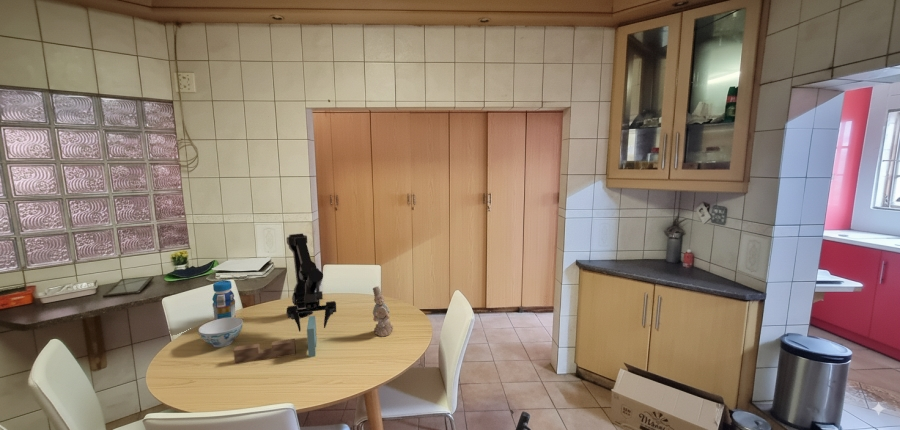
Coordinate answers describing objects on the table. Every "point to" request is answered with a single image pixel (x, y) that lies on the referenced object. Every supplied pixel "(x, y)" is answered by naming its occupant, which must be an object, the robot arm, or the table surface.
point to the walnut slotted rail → (264, 351)
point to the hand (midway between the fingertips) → (312, 329)
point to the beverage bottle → (223, 300)
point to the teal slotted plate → (311, 336)
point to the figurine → (381, 314)
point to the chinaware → (221, 331)
